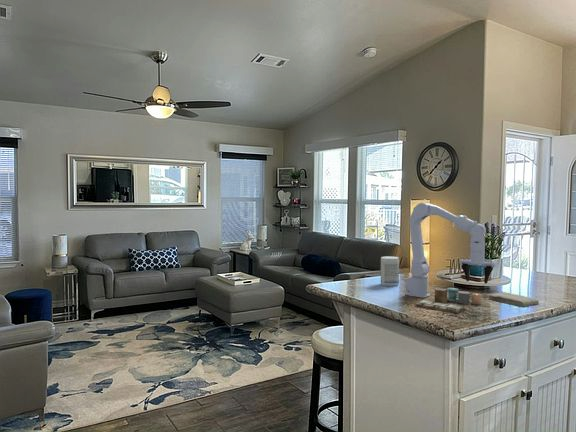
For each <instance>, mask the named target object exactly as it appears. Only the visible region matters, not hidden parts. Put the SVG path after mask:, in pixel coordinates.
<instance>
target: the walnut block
mask: <svg viewBox="0 0 576 432" xmlns="http://www.w3.org/2000/svg"><path fill="white" fill-rule="evenodd" d="M447 298H448V291H447V288H441V287H438V288H436V289H434V302H436V303H443V304H448V300H447Z"/></svg>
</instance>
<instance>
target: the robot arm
mask: <svg viewBox="0 0 576 432" xmlns="http://www.w3.org/2000/svg"><path fill="white" fill-rule="evenodd" d="M429 216H438V217H440V218H443V219H445V220H447V221H449V222H452V223H453V225H454V227H455V228H458V229H459V230H461V231H463V232H465V233H468V234H470V239H471V240H470V254H469V255H470V257H469V258H470V259H462V258H461V259H459V265H461V269H462V271H463V274H464V276H465V281H466V282H469V281H470V279H471V277H470V276H471V274H470V273H471V266H477V267H483V270H484V271H483V272H484V278H483V279H484V280H483V281H484V284H488V283H489V279H490V276H491V273H492V272H493V270H494V268H496V262H492V261H491V262H490V261H487V260H486V261H485V259H486V258H485V257H486V256H485V253H486V250H485V249H486V241H485V239H486V237H485V235H486V233H487V228H486V226H485V225H484V224H482V223H478V221H477V220H472V219H470V218H468V216H467V215H455V214H453V213H451V212H449V211H448V210H446V209H444V208H442V207H441V206H438V205H435V204H432V203H430V202H419V203H417V204H416V205H415V206H414V207H413V208H412V212H411V215H410V217H409V219H408V223H409V225H408V226H409V233H410V243H411V251H412V260H411V267H410V274H411V275H408V276H407V277H406V281H405V295H406V296H410V297H416V298H422V299H423V298H427V297H430V296H431V295H432V294H430V293H428V292H429V291H428V290H429V289H428V288H429V287H428V284H429V283H428V282H429V280H428V279H429V276H428V274H429V271H430V265H429V264H428V262H427V258H426V257H425V251H424V250H425V249H424V241H423V233H422V223H423V222H424V221H425V219H426V218H428V217H429Z"/></svg>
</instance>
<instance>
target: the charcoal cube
mask: <svg viewBox="0 0 576 432" xmlns="http://www.w3.org/2000/svg"><path fill="white" fill-rule="evenodd" d="M457 295H458V296H457V297H458V301H457V303H458V304H467V305H470V295H471V294H470V291H465V290H464V291H462V290H459V291H457Z"/></svg>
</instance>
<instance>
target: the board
mask: <svg viewBox="0 0 576 432" xmlns="http://www.w3.org/2000/svg"><path fill="white" fill-rule="evenodd" d="M414 306H415V307H418V306H419V307H420V308H424V307H425V309H430V310H437V311H442V312H447V313H452V314H459V313H461V312H463V311H465V310H466V309H465V308H466V307H465V306H461V305H455V304H448V303H445V304H443V303H436V302H435V301H430V300H424V299H423V300H420V301H417V302H416V303H415V305H414Z"/></svg>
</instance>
